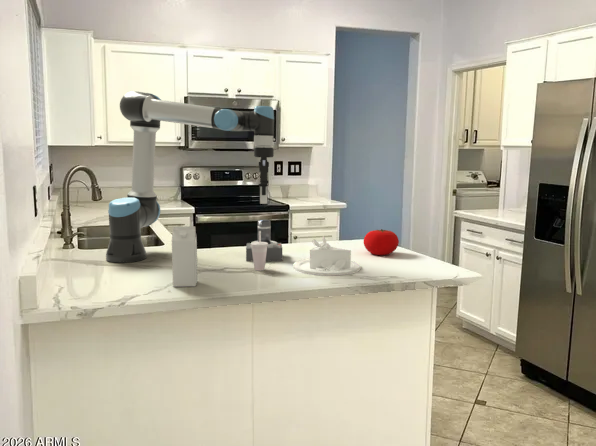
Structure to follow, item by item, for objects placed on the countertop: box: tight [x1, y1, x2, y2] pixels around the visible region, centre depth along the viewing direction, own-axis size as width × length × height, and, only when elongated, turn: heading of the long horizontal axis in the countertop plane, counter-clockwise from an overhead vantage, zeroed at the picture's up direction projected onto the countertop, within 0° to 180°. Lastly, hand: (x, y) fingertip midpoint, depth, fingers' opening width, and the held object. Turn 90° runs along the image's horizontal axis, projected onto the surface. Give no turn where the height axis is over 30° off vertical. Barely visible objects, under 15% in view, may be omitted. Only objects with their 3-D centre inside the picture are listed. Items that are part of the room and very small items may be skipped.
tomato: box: [363, 228, 400, 256], centre depth 230 cm, size 14×13×10 cm
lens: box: [257, 219, 272, 244], centre depth 220 cm, size 5×5×10 cm
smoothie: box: [251, 231, 268, 272], centre depth 201 cm, size 6×6×14 cm
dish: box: [292, 235, 361, 277], centre depth 205 cm, size 25×25×11 cm
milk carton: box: [171, 225, 198, 288], centre depth 180 cm, size 7×7×19 cm
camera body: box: [245, 240, 283, 262], centre depth 221 cm, size 14×11×6 cm
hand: (263, 201), depth 218 cm, fingers open, 13 cm apart
